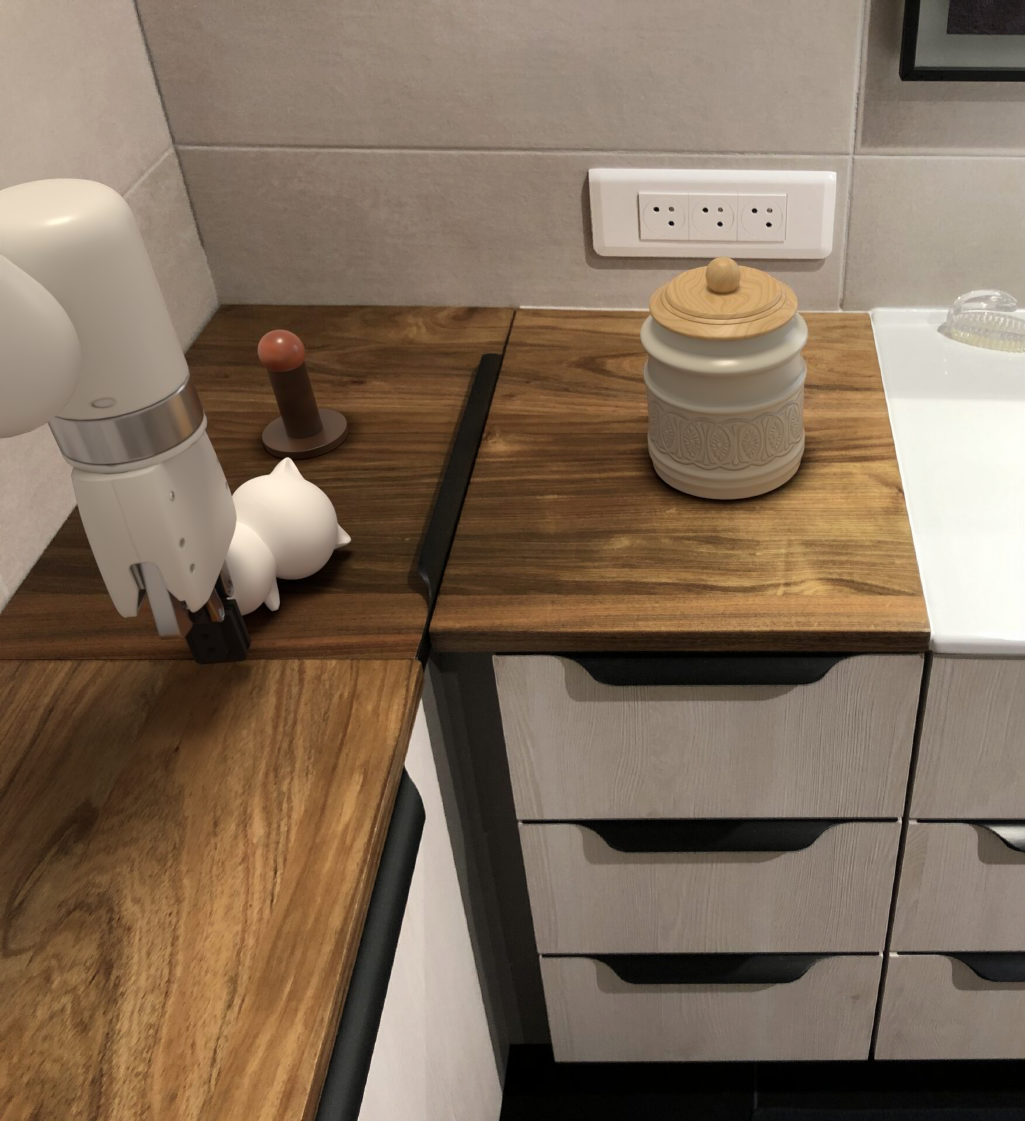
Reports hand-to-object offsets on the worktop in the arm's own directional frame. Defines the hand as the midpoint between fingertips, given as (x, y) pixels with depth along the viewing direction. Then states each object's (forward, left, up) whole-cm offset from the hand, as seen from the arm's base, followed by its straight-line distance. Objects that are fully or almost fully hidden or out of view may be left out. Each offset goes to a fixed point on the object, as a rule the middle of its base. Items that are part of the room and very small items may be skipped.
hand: (224, 654), depth 74 cm
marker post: (+15, +25, -2) cm, 29 cm away
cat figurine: (+5, +8, -2) cm, 9 cm away
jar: (+41, -1, -2) cm, 41 cm away
